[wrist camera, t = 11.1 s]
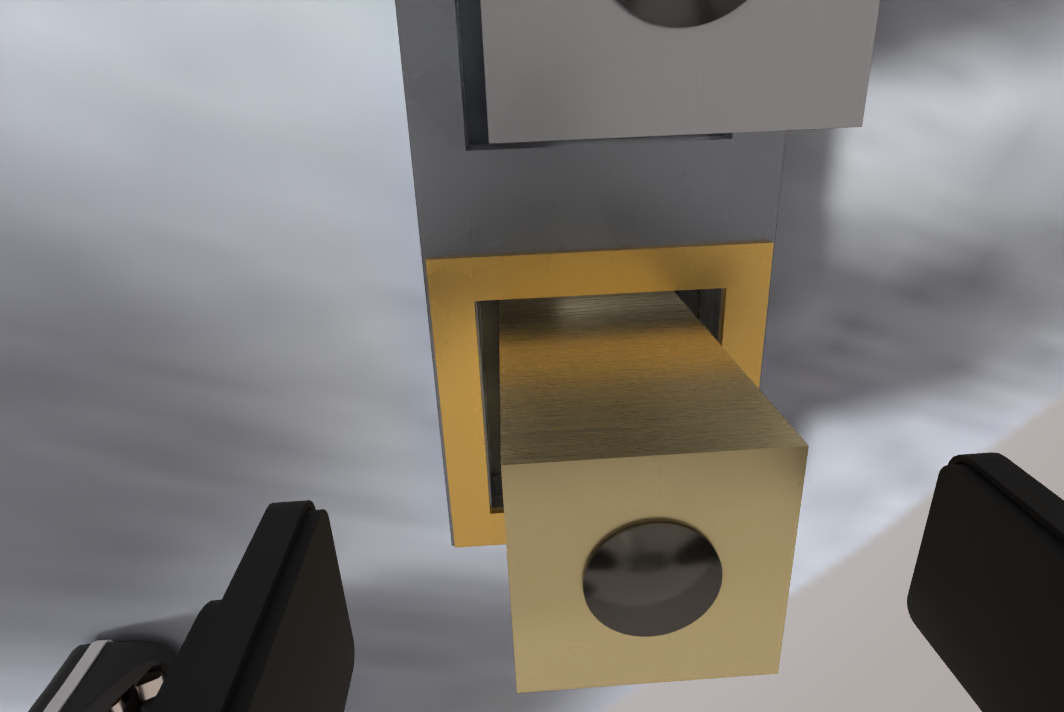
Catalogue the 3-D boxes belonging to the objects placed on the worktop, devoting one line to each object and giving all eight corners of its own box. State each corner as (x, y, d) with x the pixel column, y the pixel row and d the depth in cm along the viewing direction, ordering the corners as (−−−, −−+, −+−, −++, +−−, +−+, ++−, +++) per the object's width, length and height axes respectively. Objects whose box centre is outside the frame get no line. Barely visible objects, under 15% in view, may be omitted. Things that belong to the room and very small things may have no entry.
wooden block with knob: (498, 299, 17) (501, 468, 9) (672, 289, 17) (811, 449, 10) (508, 451, 19) (517, 698, 11) (666, 441, 19) (780, 678, 11)
